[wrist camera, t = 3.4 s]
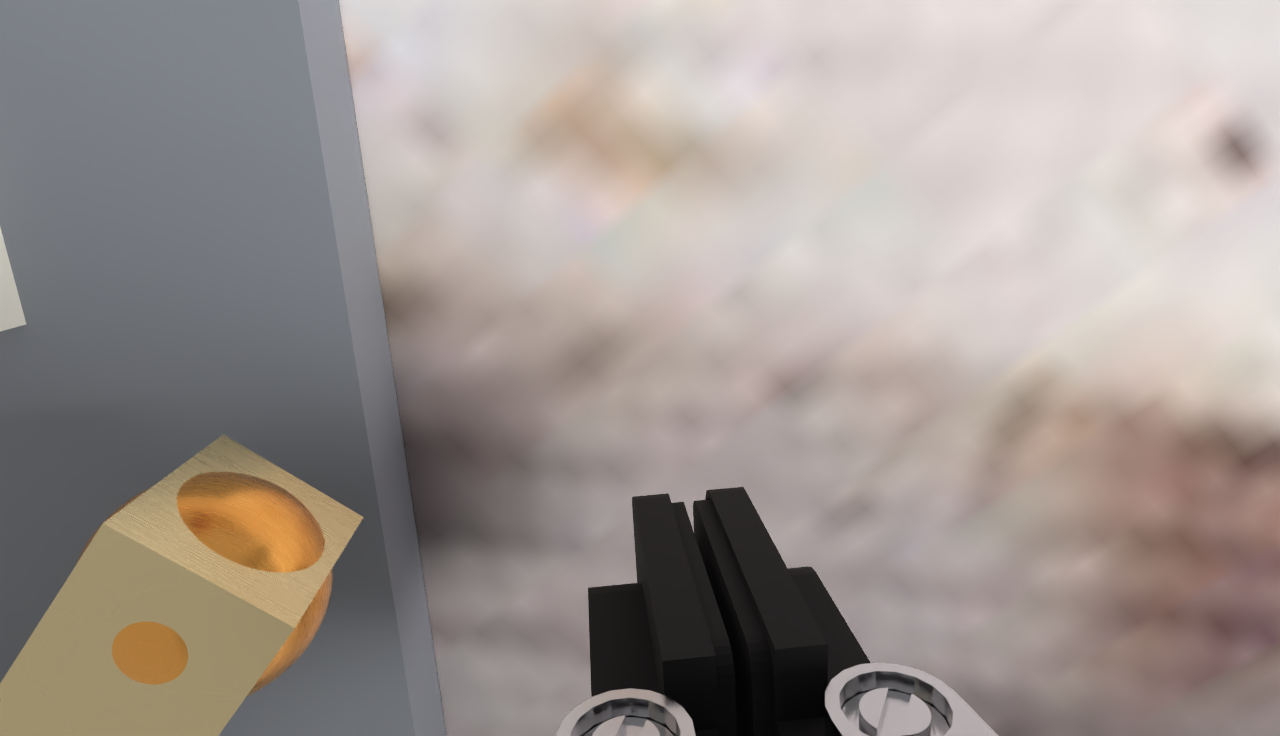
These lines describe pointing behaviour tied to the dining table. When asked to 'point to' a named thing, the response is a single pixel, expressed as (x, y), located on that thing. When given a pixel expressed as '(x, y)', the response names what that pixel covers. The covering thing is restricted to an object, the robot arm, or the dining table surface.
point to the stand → (202, 316)
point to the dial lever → (182, 604)
